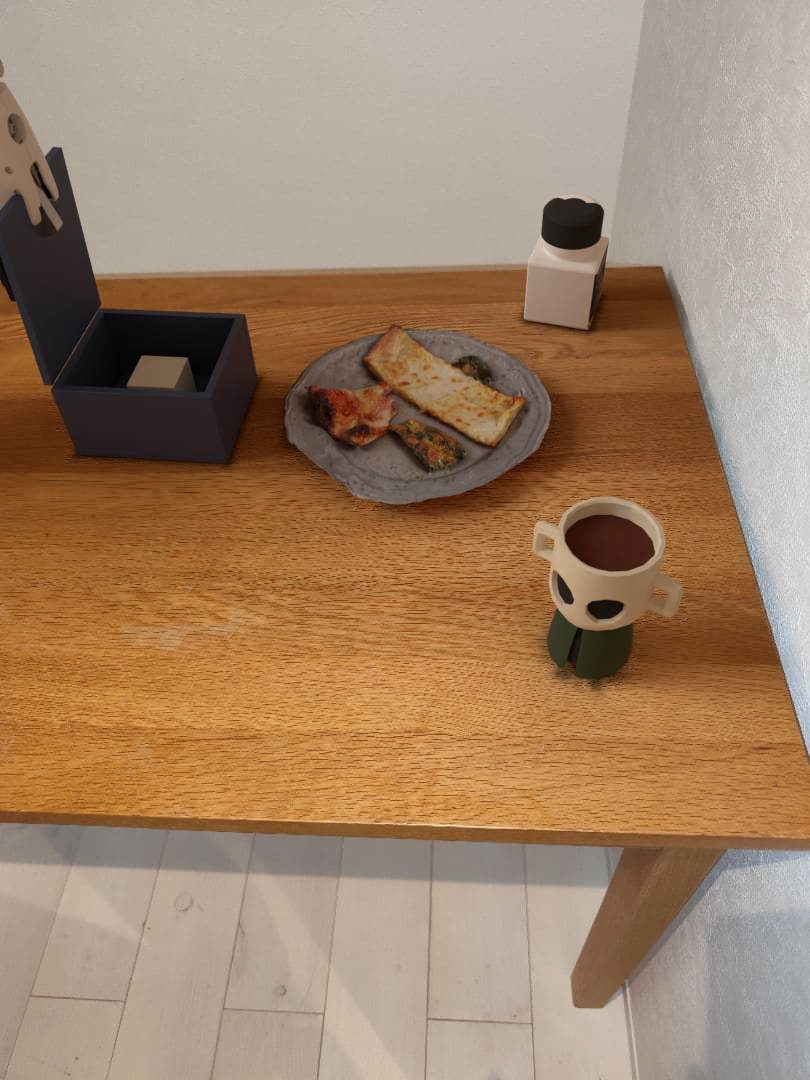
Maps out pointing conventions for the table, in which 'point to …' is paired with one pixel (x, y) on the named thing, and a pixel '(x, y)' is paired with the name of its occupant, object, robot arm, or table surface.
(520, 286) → the table surface
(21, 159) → the robot arm
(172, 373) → the cube block
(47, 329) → the lid
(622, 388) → the table surface
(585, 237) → the medicine bottle
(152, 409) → the case
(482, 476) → the food plate
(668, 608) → the character mug
